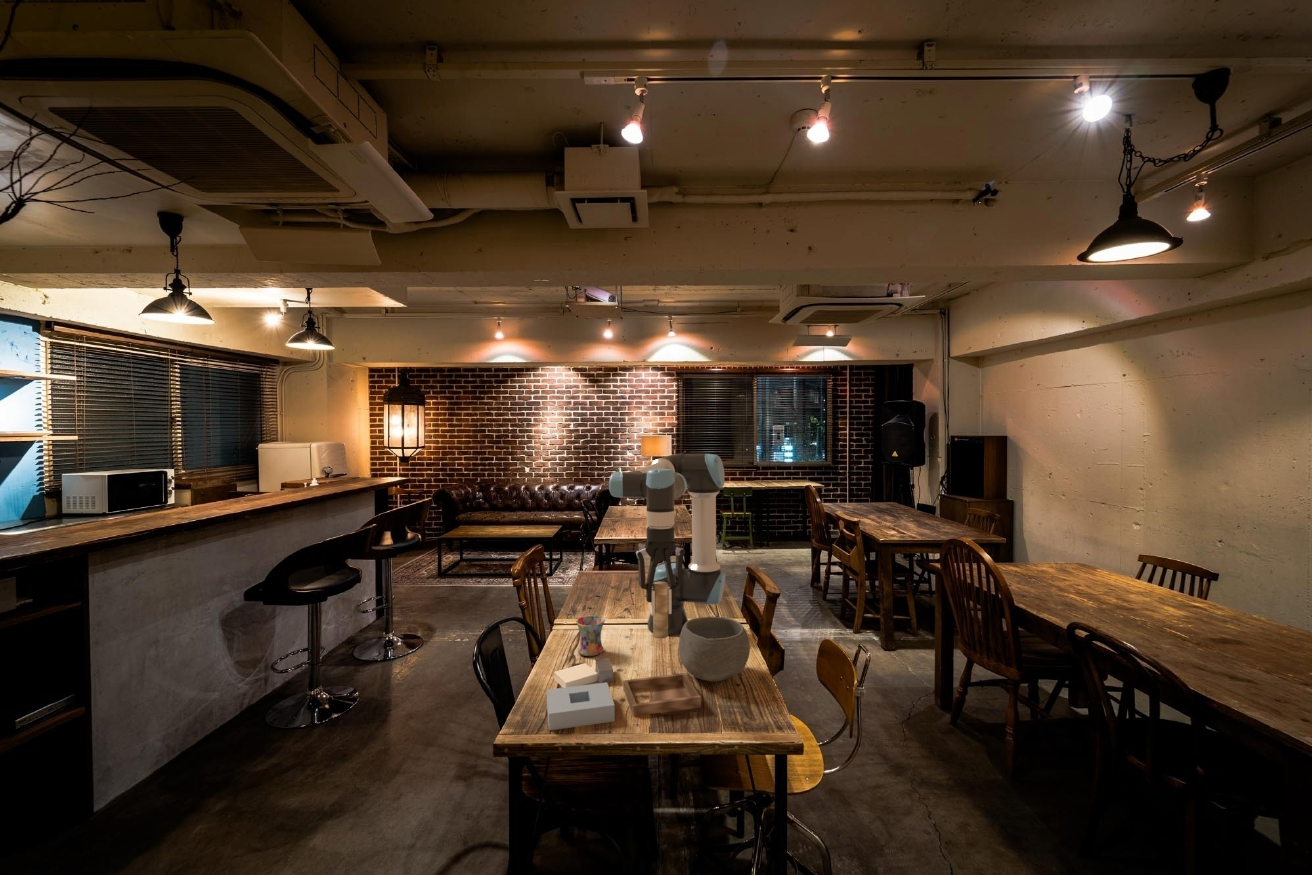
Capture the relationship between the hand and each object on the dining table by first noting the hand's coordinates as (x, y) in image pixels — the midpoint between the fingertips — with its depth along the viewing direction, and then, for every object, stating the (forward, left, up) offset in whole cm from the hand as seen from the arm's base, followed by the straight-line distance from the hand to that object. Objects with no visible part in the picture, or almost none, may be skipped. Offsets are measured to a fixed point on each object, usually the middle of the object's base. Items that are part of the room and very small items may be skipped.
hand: (660, 612), depth 140 cm
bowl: (-19, -10, -24) cm, 33 cm away
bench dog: (+13, -16, -24) cm, 32 cm away
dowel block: (+22, +2, -24) cm, 33 cm away
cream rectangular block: (+21, -16, -25) cm, 36 cm away
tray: (0, 0, -24) cm, 24 cm away
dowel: (0, 0, -6) cm, 6 cm away
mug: (+14, -37, -24) cm, 46 cm away
